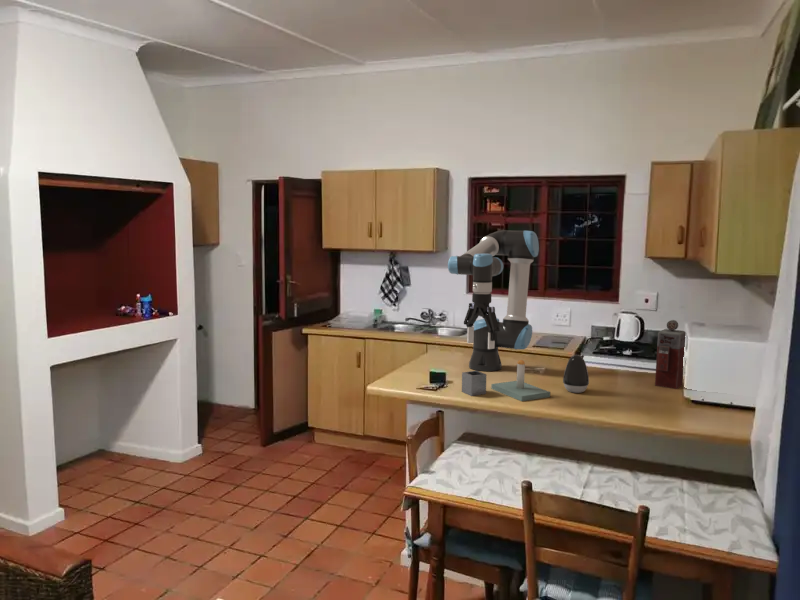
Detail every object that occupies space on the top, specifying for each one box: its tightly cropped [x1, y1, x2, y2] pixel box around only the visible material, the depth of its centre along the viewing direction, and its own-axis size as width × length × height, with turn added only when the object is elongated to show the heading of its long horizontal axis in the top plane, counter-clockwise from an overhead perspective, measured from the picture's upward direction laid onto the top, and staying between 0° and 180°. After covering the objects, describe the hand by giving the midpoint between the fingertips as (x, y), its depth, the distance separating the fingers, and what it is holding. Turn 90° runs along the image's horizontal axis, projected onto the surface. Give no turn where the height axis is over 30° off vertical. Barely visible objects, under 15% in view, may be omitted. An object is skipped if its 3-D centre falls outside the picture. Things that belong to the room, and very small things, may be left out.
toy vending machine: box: [654, 319, 687, 390], centre depth 272 cm, size 9×11×28 cm
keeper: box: [490, 359, 551, 402], centre depth 259 cm, size 20×14×14 cm
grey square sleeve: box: [461, 370, 487, 397], centre depth 259 cm, size 7×7×8 cm
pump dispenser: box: [562, 354, 590, 394], centre depth 262 cm, size 10×10×15 cm
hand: (480, 345), depth 257 cm, fingers open, 13 cm apart
